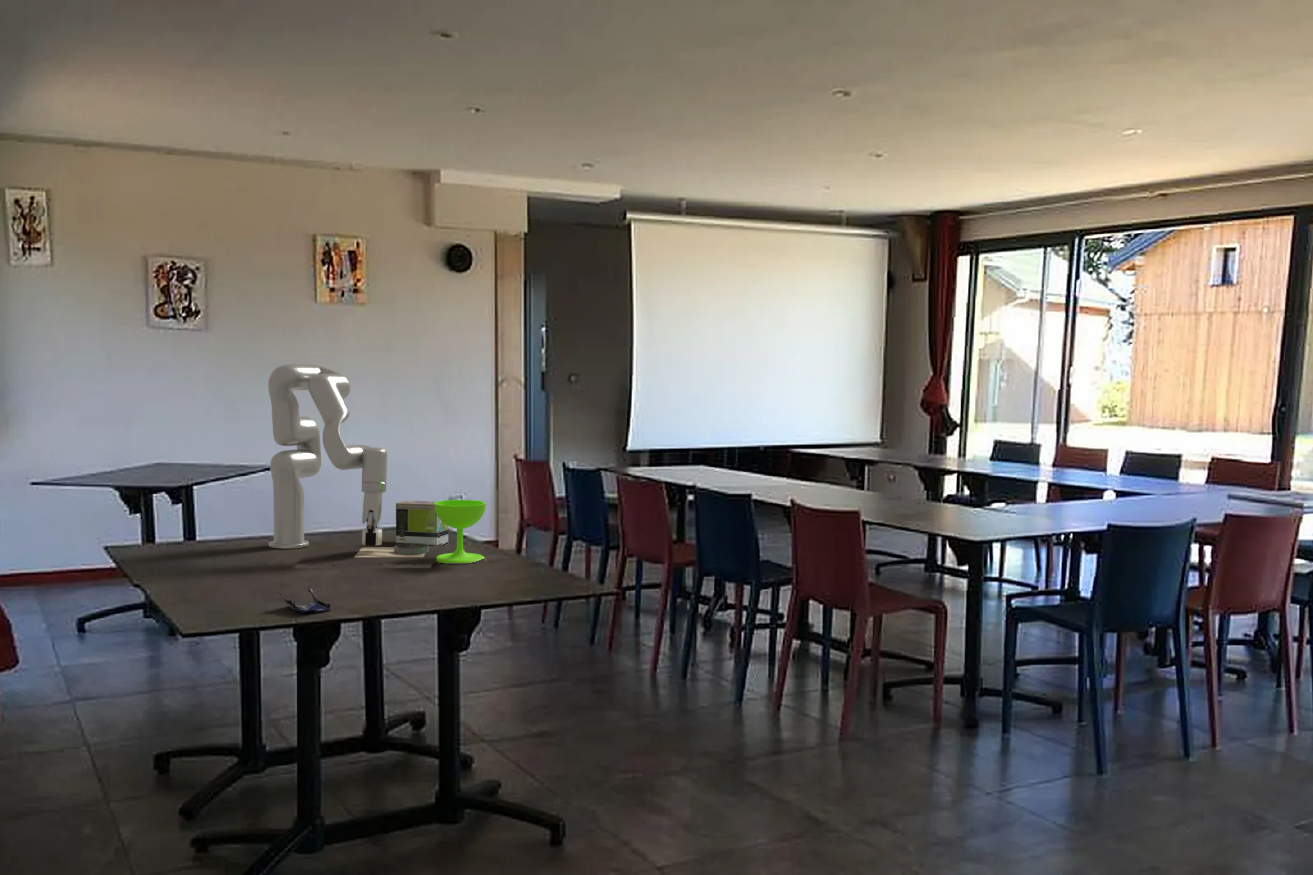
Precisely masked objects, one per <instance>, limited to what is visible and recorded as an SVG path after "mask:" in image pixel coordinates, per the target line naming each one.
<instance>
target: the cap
mask: <svg viewBox="0 0 1313 875" xmlns="http://www.w3.org/2000/svg"><path fill="white" fill-rule="evenodd" d="M375 533H376V545H375V546H374V547H377V546H381V545H383V543H382V542H383V529H382V528H379V529H378V528H376V530H375ZM365 535H366V528H363V529H362V539H361V540H362V541H361V544H362V545H363V546H366V545H365Z"/></svg>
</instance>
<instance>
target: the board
mask: <svg viewBox="0 0 1313 875" xmlns="http://www.w3.org/2000/svg"><path fill="white" fill-rule="evenodd" d="M425 555H426V553H425V554H419V555H401V554H396V553H394V546H392V547H387V546H386V547H385V546H384V547H383V546H381V547H379V546H378V547H377V546H374V547H373V546H370V547H369V546H368V547H367V546H366V547H361V548H360V549H359V551H358V552H357V553H356V554H355V555H354V558H424V557H425Z"/></svg>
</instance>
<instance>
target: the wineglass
mask: <svg viewBox="0 0 1313 875" xmlns="http://www.w3.org/2000/svg"><path fill="white" fill-rule="evenodd" d="M486 505H487V502H485V501H482V500H475V499H474V500H473V499H447V500H438V502H434V507H435V511H436V514H437V516H438V517H439V519H440V520H441V521H442V522H443V523H444V524H446V525H447V526H448V527H450V528H453V529H456V549H455V551H454V552H449V553H448V552H447V553H443V554H439V555H437V556H436V558H435V560H434V562H435V561H437V562H442V563H472V562H476V561H479V560H481V559H484V558H485V556H483V555H482V554H479V553H475V552H474V553H472V552H466V550H465V549H464V529H467V528H470V527H472V526H474V525H475V524H477V523H478V522H479V521H480V520H481V518H482V517H483V516H484V513H485V511H486V507H487V506H486Z"/></svg>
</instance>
